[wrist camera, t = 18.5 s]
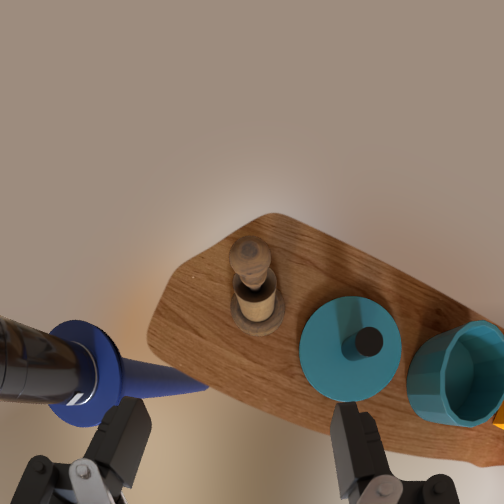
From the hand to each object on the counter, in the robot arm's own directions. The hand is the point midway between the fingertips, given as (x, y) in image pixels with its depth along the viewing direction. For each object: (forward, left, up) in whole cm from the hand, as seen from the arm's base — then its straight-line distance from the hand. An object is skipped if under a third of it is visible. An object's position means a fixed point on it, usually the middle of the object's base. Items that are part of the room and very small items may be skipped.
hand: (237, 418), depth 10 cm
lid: (+13, +1, -23) cm, 26 cm away
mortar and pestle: (+4, +10, -24) cm, 26 cm away
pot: (+24, -10, -24) cm, 35 cm away
